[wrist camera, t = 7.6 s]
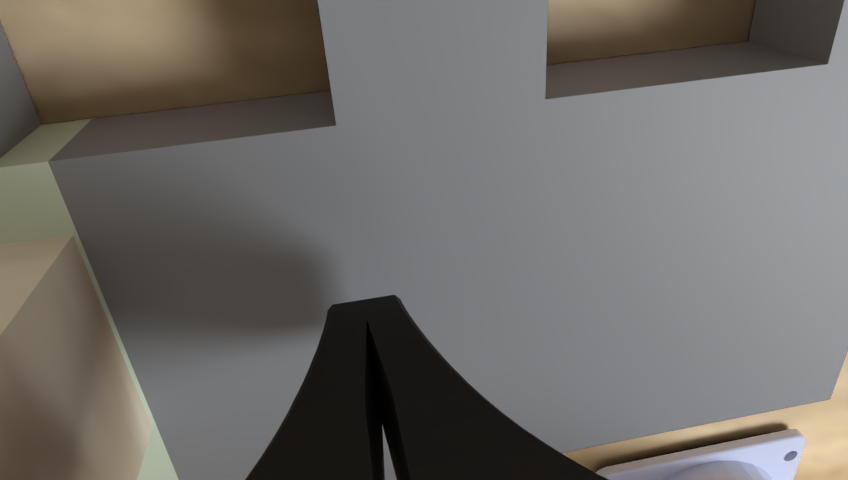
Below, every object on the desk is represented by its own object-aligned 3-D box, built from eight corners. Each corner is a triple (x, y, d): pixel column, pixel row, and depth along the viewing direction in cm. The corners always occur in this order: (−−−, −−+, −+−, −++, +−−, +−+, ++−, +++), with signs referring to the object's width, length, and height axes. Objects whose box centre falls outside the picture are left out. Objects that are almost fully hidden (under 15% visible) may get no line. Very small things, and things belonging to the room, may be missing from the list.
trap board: (771, 345, 19) (830, 399, 17) (-8, 490, 17) (-55, 576, 14) (989, -438, 11) (1163, -527, 8) (-599, -415, 8) (-947, -543, 6)
